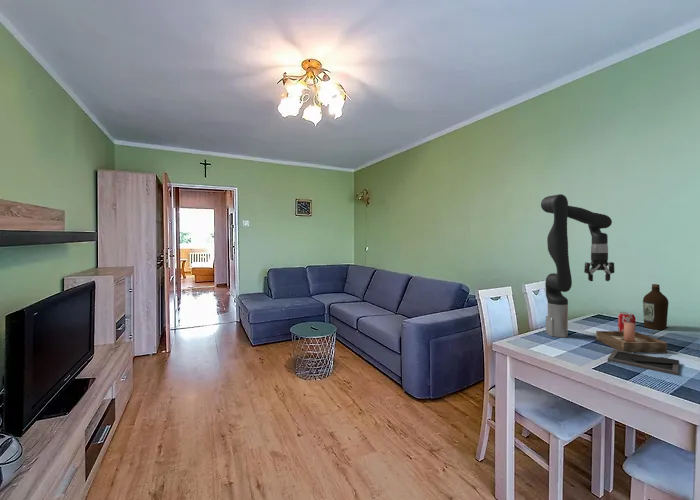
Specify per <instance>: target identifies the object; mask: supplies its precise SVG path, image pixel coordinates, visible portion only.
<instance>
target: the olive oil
mask: <svg viewBox="0 0 700 500" xmlns="http://www.w3.org/2000/svg"><path fill="white" fill-rule="evenodd" d="M660 288H661V287H660V284H658V283H652V284H651V290H650V291H649V292H648V293H646V294H645V295H644V297H643V299H642V308H643V309H642V310H643V311H642V312H643V327H644V328H646V329H649V328H650V329H649V330H655V329H657V330H656V331H665V330H664V329H666V330H667V328H668V327H667V326H668V315H669V314H668V311H669V299H668V298H667V296H665V295H664V294H663V293H662V292H661V289H660Z"/></svg>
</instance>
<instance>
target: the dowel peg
mask: <svg viewBox="0 0 700 500" xmlns="http://www.w3.org/2000/svg"><path fill="white" fill-rule="evenodd" d="M635 332H636V324H634V323H630V322H624V341H625V342H635Z"/></svg>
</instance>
